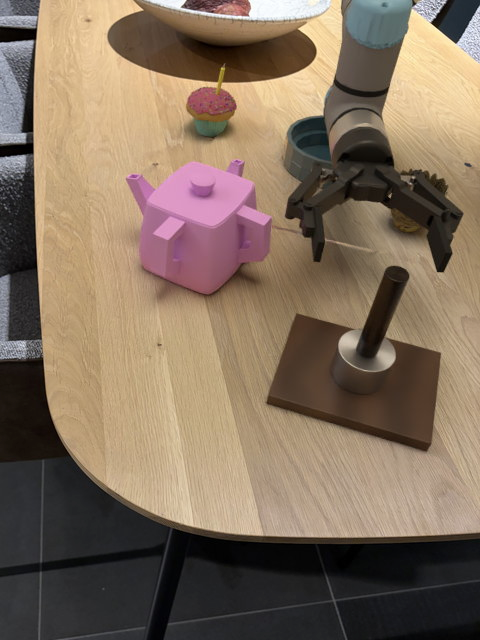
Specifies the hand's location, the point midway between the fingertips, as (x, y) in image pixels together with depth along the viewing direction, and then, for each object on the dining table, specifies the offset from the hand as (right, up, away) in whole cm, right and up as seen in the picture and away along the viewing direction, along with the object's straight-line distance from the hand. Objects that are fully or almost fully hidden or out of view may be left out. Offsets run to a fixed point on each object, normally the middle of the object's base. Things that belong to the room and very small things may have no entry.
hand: (382, 258), depth 65 cm
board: (-1, -13, +6) cm, 15 cm away
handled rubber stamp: (-1, -12, +5) cm, 13 cm away
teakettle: (-20, +4, +20) cm, 28 cm away
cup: (+11, +9, +26) cm, 30 cm away
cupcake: (-18, +30, +42) cm, 55 cm away
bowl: (+2, +22, +36) cm, 42 cm away
